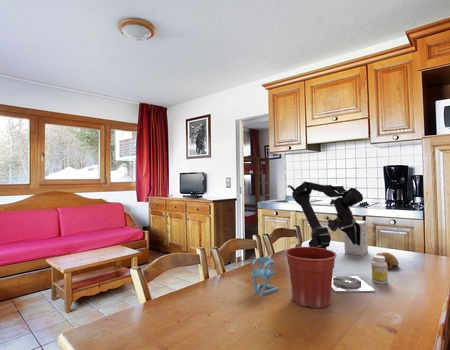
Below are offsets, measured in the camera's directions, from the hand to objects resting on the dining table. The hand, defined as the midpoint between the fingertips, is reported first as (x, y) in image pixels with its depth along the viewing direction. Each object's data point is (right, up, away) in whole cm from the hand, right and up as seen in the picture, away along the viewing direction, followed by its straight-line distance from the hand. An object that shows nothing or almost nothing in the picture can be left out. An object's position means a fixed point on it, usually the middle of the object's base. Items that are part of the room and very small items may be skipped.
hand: (357, 245), depth 119 cm
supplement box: (+14, -12, +31) cm, 37 cm away
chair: (-42, -13, -17) cm, 47 cm away
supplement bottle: (+4, -12, -10) cm, 16 cm away
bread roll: (+17, -12, +8) cm, 22 cm away
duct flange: (-10, -12, -12) cm, 20 cm away
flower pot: (-27, -13, -25) cm, 39 cm away
